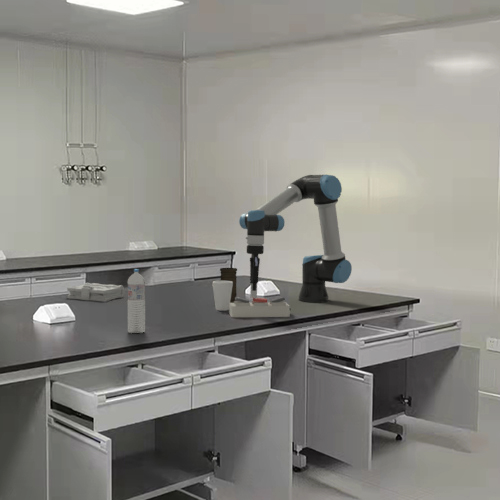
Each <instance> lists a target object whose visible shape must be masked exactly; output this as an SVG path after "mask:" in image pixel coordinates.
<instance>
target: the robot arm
mask: <svg viewBox="0 0 500 500" xmlns="http://www.w3.org/2000/svg"><path fill="white" fill-rule="evenodd" d="M342 190H343V188H342V184H341V180H339V178H338V177H336V176H335V175H331V174H308V175H304V176H302V177H300V178H298V179H296V180H295V181H293V182H291V183H289V184H288V185H286V189H284V190H283V191H281V192H280V193H279V194H277V195H275V196H274V197H272V198H271V199H269V200H268V201H267V202H265V203H263V204H262V205H261V206H259V207H257V208H256V209H250V210H248V211H247V212H246V213H242V214H241V215H240V217H239V220H238V221H239V226H240V228H241V229H243V230H246V231H247V233H246V234H247V235H246V237H245V239H246V243H247V246H246V254H249V255H251V256H250V257H249V266H250V267H249V269H250V271H249V274H250V276H249V280H250V281H249V283H250V293H249V294H250V298H251V299H253V298H258V297H257V296H258V283H259V272H260V265H261V264H260V262H261V260H260V259H261V258H260V257H259V255H263V254H264V247H265V246H264V244H265V232H279V231H282V230H283V229H284V228H285V218H284V217H283V216H282V215H281V214H279V213H281V212H282V211H284V210H285V209H287V208H288V207H290V206H291V205H293V204H295V203H299V202H301V201H303V200H307V199H309V200H313V204H314V205H315V206H316V207H317V211H318V218H319V225H320V233H321V240H322V247H323V254H320V255H319V254H318V255H306V256H304V257H303V258H302V267H301V268H302V273H301V274H302V280H301V281H302V285H301V287H300V291H299V295H298V301H300V302H306V303H323V302H324V303H325V302H328V301H329V294H328V290H327V287H326V282H327V283H328V282H329V283H334V284H344V283H345V282H347V281H348V280H349V279H350V277H351V275H352V263H351V262H350V261H349V260H347V259H346V254H345V253H344V252H343V251H342V245H341V237H340V230H339V229H340V228H339V221H338V215H337V207H336V204H337V203H338V202H339V198H340V197H341V195H342V194H341V193H342Z"/></svg>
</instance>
